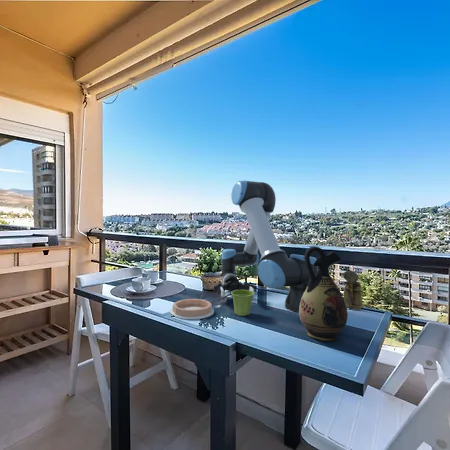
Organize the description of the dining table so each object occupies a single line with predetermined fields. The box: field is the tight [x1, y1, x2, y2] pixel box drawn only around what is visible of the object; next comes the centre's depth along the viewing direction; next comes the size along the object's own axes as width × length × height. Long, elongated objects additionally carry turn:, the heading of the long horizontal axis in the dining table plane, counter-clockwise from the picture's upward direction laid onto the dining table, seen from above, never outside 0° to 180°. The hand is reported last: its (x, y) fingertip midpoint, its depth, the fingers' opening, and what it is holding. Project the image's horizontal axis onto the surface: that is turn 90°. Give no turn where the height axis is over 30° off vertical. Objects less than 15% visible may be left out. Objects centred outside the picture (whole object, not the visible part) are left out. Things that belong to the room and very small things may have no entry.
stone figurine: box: [342, 269, 364, 310], centre depth 128 cm, size 9×14×18 cm, turn 147°
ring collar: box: [169, 298, 215, 320], centre depth 120 cm, size 18×18×3 cm
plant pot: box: [230, 290, 255, 317], centre depth 119 cm, size 9×9×9 cm
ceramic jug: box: [298, 246, 349, 342], centre depth 98 cm, size 17×15×30 cm
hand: (238, 293), depth 127 cm, fingers open, 13 cm apart
